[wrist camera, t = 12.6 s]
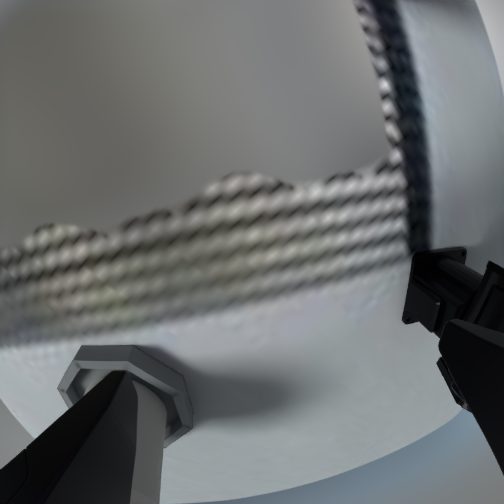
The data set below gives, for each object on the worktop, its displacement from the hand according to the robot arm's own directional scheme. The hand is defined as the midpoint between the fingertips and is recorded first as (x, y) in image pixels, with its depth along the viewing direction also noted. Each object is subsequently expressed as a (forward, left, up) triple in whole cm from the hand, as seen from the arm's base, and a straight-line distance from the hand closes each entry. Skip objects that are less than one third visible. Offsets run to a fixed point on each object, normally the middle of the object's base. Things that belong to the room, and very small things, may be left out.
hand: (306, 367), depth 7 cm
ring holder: (+12, +14, -13) cm, 23 cm away
